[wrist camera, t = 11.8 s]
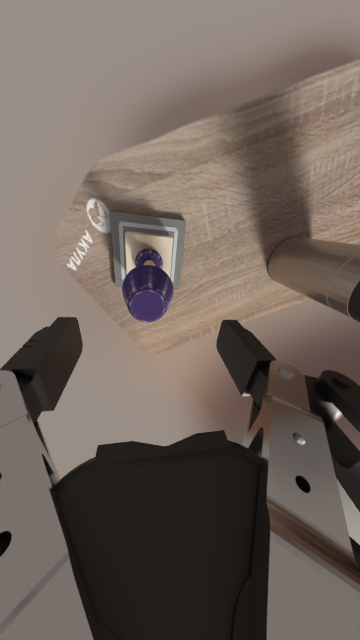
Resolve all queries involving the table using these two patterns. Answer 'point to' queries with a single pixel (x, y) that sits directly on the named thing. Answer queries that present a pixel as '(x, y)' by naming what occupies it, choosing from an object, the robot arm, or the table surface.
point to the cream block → (148, 241)
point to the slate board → (151, 226)
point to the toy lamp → (147, 287)
